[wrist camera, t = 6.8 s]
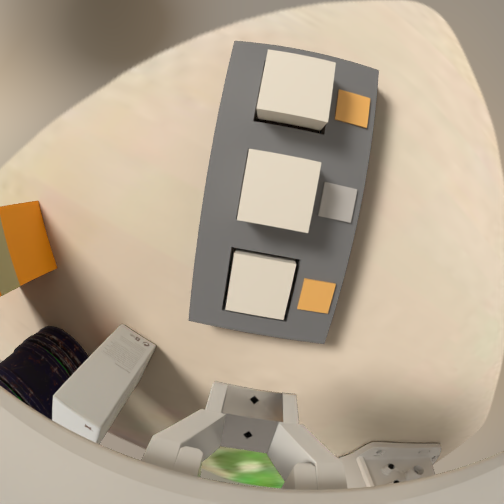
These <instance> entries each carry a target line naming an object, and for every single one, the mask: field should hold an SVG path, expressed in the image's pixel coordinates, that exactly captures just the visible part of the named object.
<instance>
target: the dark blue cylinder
mask: <svg viewBox="0 0 504 504" xmlns="http://www.w3.org/2000/svg"><path fill="white" fill-rule="evenodd" d="M88 358H89V357H88V356H87V354H86V353H85V351H84V350H83V348H82V347H81V346H80V345H79V344H78V342H77V341H76V340H75V339H74V338H72V337H71V336H70V335H69V334H68V333H66V332H65V331H63V330H61V329H59V328H57V327H53V326H47V327H44V328H42V329H41V330H40V331H39V332H38V333H36V334H34V335H32V336H30V337H29V338H27V339H26V340H24V342H23V343H22V344H21V345H19V346H18V347H17V348H16V349H15V350H14V353H12V354H11V355H10V356H9V357H7V358H6V359H5V360H4V361H2V362H1V363H0V386H1V387H3V388H4V389H5V390H7V391H8V392H9V393H11V394H12V395H14V396H15V397H16V398H18V399H19V400H21V401H22V402H24V403H25V404H27V405H28V406H30V407H31V408H33V409H34V410H36V411H38V412H39V413H41V414H42V415H44V416H46V417H47V418H49V419H51V420H52V404H53V395H54V394H55V393H56V392H57V391H58V390H59V388H60V387H61V386H62V385H63V384H64V383H65V382H66V381H67V380H68V379H69V378H70V377H71V376H72V374H73V373H74V372H75V371H76V370H77V369H78V368H79V367H80V366H81V365H82V364H83V363H84V362H85V361H86V360H87V359H88Z"/></svg>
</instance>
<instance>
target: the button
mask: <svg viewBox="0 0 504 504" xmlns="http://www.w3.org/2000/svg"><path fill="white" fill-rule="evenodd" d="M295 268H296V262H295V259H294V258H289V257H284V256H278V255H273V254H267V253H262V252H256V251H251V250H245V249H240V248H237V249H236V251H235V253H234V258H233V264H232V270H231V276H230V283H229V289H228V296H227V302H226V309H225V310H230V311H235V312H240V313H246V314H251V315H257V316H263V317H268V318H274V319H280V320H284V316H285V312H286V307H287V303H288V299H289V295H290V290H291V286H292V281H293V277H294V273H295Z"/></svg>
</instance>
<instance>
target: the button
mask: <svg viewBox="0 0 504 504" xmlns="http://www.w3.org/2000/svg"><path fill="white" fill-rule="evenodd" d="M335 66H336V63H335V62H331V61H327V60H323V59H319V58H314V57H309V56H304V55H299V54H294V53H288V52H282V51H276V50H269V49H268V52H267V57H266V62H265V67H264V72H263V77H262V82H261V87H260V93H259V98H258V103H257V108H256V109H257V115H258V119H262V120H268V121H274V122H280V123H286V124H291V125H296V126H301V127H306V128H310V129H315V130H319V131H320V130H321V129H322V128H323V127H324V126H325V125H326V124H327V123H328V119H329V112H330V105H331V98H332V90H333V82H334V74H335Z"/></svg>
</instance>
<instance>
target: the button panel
mask: <svg viewBox="0 0 504 504" xmlns="http://www.w3.org/2000/svg"><path fill="white" fill-rule="evenodd" d="M268 49H269V50H276V51H282V52H288V53H294V54H299V55H304V56H309V57H314V58H319V59H323V60H327V61H331V62H335V63H336V66H335V74H334V82H333V90H332V98H331V105H330V112H329V119H328V123H327V124H326V125H325V126H324V127H323V128H322V129H321V130H320V133H314V132H310V131H305V130H300V129H295V128H290V127H285V126H279V125H273V124H268V123H261V122H256V119H257V109H256V108H257V103H258V98H259V93H260V87H261V82H262V77H263V72H264V67H265V62H266V57H267V52H268ZM378 74H379V70H376V69H373V68H370V67H367V66H364V65H361V64H358V63H354V62H351V61H347V60H344V59H340V58H336V57H332V56H328V55H324V54H319V53H315V52H310V51H305V50H300V49H295V48H289V47H283V46H277V45H270V44H262V43H253V42H243V41H234V45H233V49H232V54H231V58H230V62H229V66H228V71H227V75H226V79H225V84H224V89H223V93H222V98H221V103H220V108H219V113H218V118H217V123H216V128H215V133H214V138H213V144H212V149H211V155H210V161H209V166H208V172H207V178H206V185H205V191H204V197H203V204H202V211H201V218H200V225H199V232H198V239H197V247H196V255H195V263H194V272H193V281H192V290H191V300H190V310H189V321H193V322H197V323H202V324H206V325H211V326H216V327H221V328H226V329H231V330H237V331H242V332H248V333H253V334H259V335H265V336H271V337H277V338H284V339H290V340H297V341H305V342H312V343H320V344H324V343H325V340H326V337H327V334H328V331H329V328H330V325H331V321H332V318H333V315H334V311H335V308H336V305H337V301H338V298H339V294H340V291H341V287H342V283H343V280H344V276H345V272H346V268H347V264H348V260H349V256H350V252H351V248H352V244H353V240H354V235H355V231H356V226H357V222H358V217H359V212H360V207H361V202H362V197H363V191H364V186H365V180H366V175H367V169H368V162H369V156H370V149H371V142H372V135H373V127H374V118H375V109H376V99H377V87H378ZM249 149H255V150H261V151H267V152H272V153H278V154H283V155H288V156H294V157H299V158H303V159H308V160H313V161H317V162H321V168H320V174H319V179H318V185H317V190H316V196H315V201H314V206H313V211H312V216H311V221H310V226H309V231H308V233H305V232H300V231H294V230H289V229H284V228H278V227H273V226H267V225H262V224H256V223H251V222H245V221H239V220H237V216H238V210H239V204H240V198H241V192H242V186H243V180H244V175H245V169H246V163H247V158H248V152H249ZM234 248H240V249H245V250H251V251H256V252H262V253H267V254H273V255H278V256H284V257H289V258H295V259H296V261H295V262H296V268H295V273H294V277H293V281H292V286H291V290H290V295H289V299H288V303H287V307H286V312H285V316H284V320H280V319H274V318H268V317H263V316H257V315H251V314H246V313H240V312H235V311H230V310H225V309H226V302H227V298H226V297H227V290H228V284H229V277H230V271H231V265H232V259H233V252H234Z"/></svg>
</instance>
